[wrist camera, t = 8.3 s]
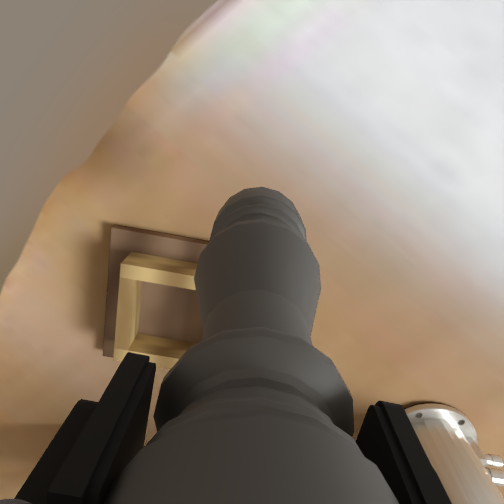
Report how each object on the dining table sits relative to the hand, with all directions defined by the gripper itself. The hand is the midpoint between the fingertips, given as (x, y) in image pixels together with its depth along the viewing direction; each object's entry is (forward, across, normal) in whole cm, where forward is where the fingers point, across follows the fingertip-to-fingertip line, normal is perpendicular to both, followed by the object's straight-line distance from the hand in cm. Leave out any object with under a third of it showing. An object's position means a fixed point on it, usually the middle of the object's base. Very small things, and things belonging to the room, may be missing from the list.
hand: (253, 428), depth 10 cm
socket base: (+33, +6, +14) cm, 37 cm away
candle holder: (+19, 0, 0) cm, 19 cm away
